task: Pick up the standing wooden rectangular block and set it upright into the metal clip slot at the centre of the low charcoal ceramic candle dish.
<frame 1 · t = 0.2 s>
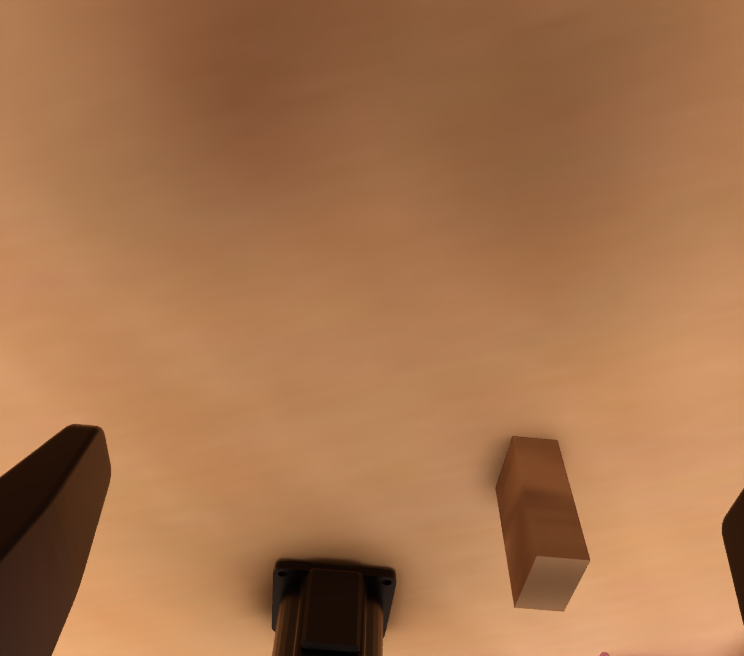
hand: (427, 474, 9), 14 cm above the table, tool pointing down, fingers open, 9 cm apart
wooden rectangular block: (525, 465, 30), on the table
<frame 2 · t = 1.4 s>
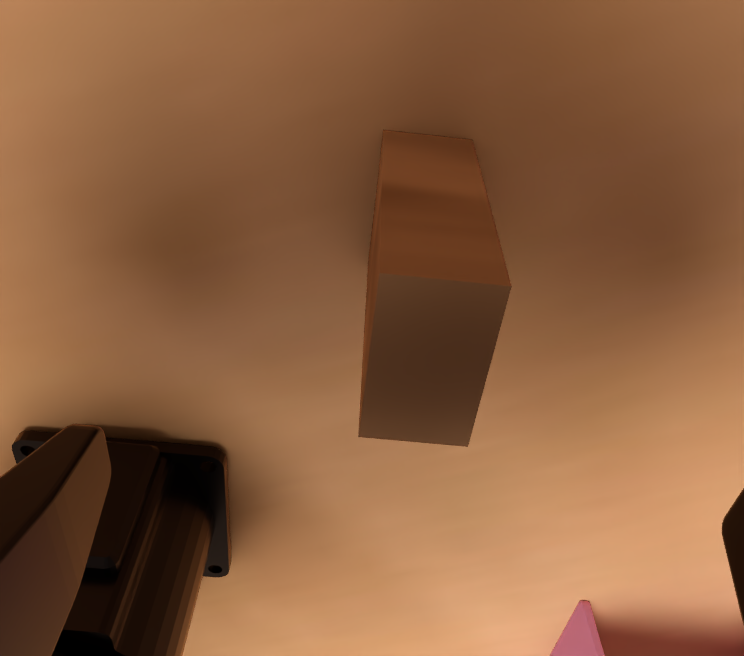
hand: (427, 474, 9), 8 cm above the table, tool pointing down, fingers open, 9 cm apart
toy chair: (658, 644, 28), on the table
wooden rectangular block: (416, 206, 16), on the table
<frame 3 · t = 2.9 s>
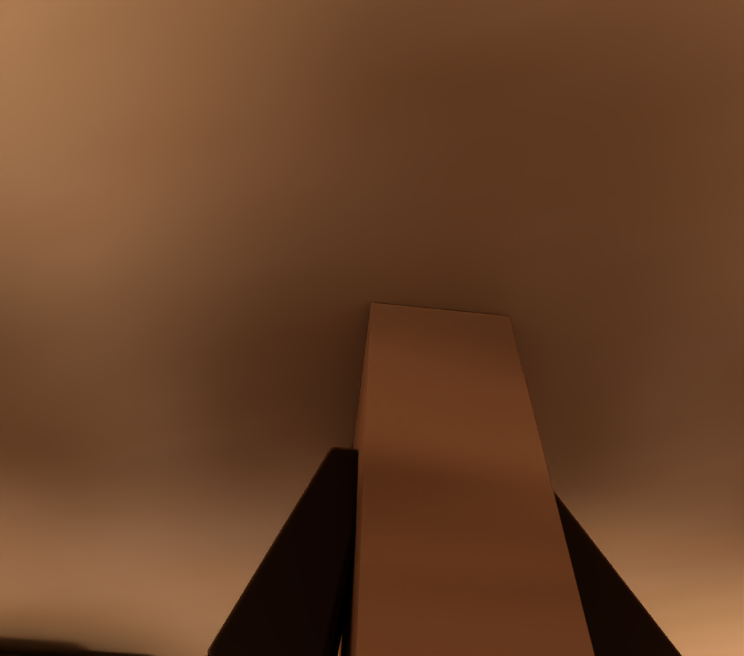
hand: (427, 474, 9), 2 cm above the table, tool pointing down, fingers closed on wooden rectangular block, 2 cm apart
wooden rectangular block: (422, 399, 10), on the table, touching gripper
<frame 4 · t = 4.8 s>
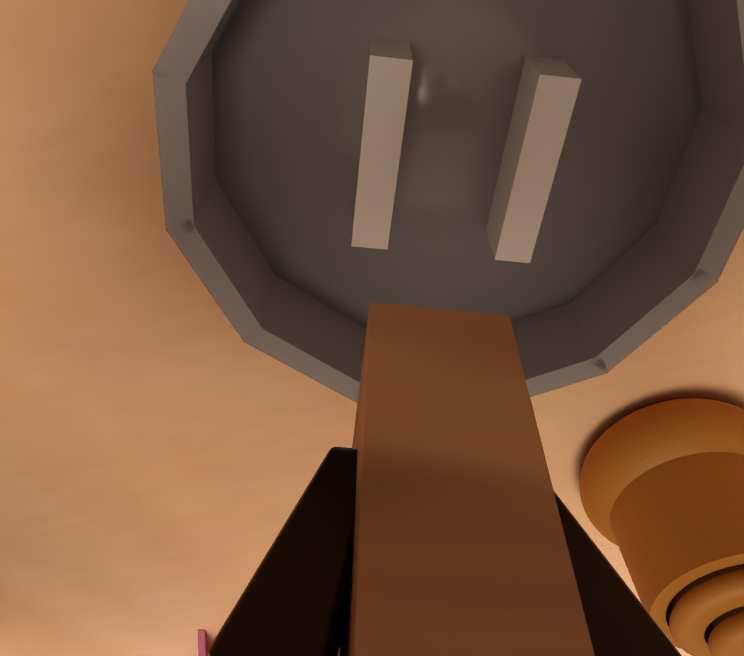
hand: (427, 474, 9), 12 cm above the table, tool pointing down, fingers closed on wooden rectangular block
ornamental finial: (666, 453, 27), on the table
dish: (448, 136, 19), on the table
wooden rectangular block: (421, 399, 10), point 11 cm above the table, touching gripper
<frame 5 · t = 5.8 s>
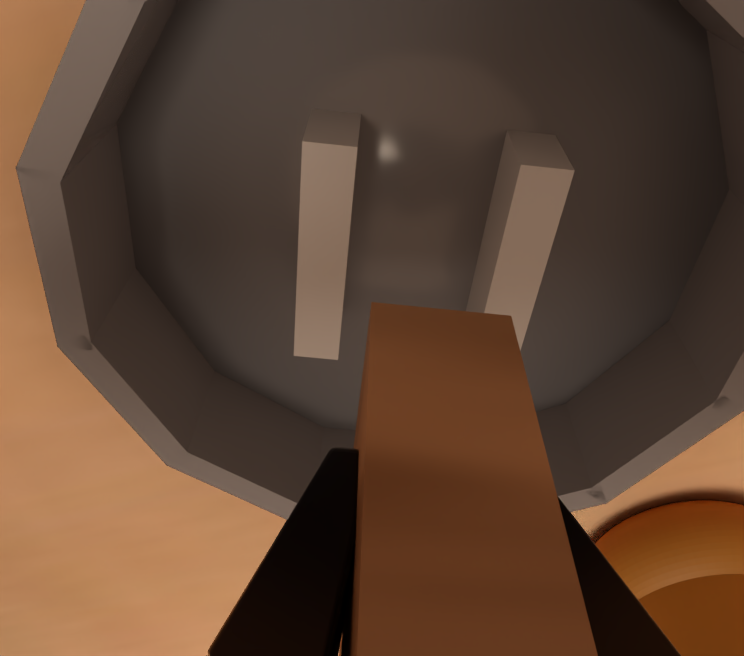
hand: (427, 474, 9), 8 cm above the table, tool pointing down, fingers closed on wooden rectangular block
ornamental finial: (677, 552, 23), on the table
dish: (416, 218, 15), on the table
wooden rectangular block: (423, 399, 10), point 6 cm above the table, touching gripper
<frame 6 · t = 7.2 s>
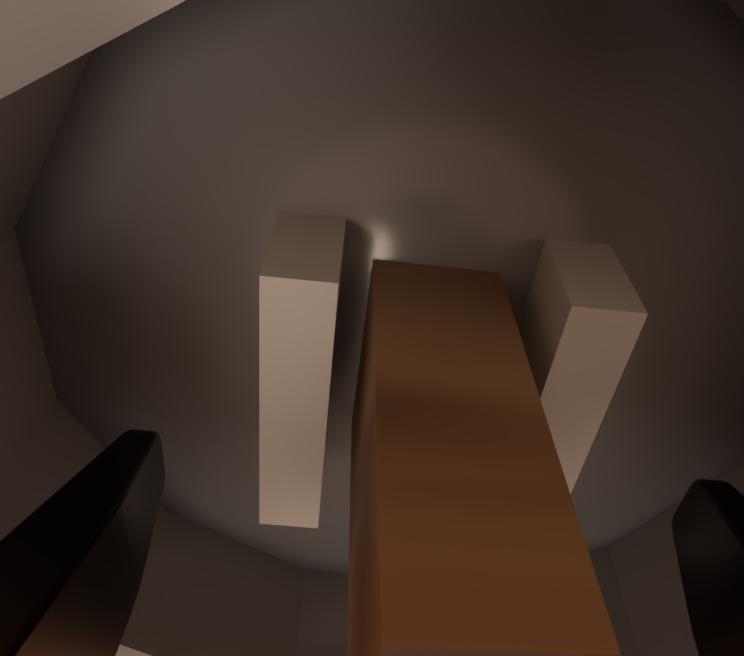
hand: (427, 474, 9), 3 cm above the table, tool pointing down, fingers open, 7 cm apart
dish: (420, 336, 12), on the table
wooden rectangular block: (419, 354, 11), point 1 cm above the table, touching dish
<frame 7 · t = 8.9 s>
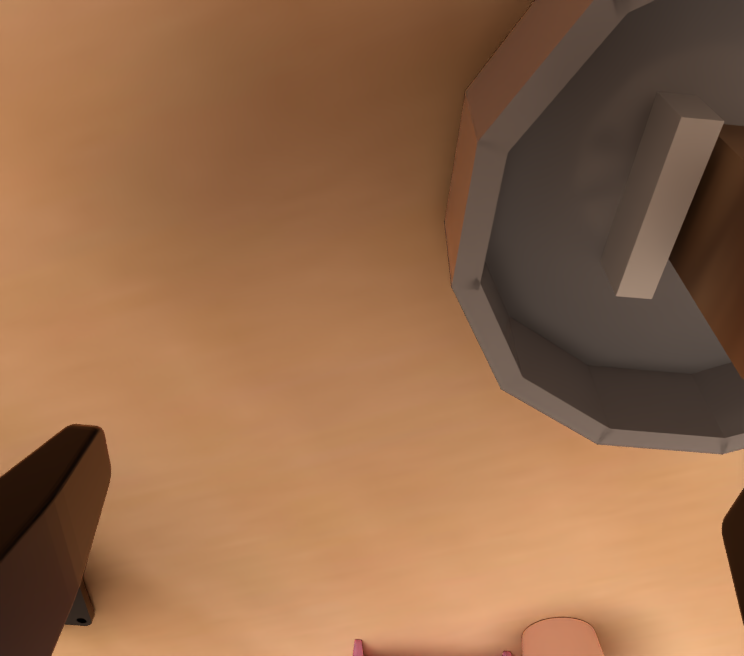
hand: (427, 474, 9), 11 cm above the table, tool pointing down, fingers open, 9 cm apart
dish: (708, 182, 19), on the table
wooden rectangular block: (715, 188, 18), point 1 cm above the table, touching dish
smoothie: (557, 632, 34), on the table
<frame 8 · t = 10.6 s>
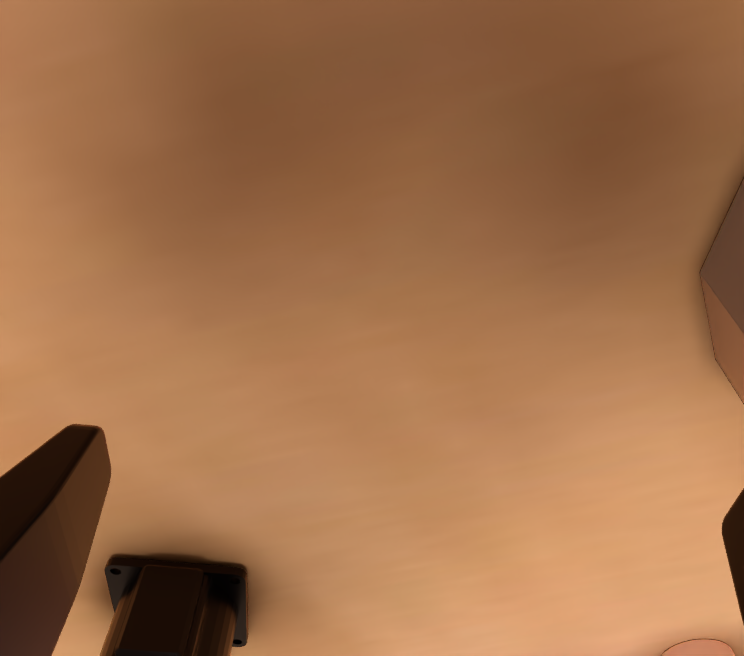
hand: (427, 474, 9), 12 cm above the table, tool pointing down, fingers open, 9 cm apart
smoothie: (694, 653, 35), on the table
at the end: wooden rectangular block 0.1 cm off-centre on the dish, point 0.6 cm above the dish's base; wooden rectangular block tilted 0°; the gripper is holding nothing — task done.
